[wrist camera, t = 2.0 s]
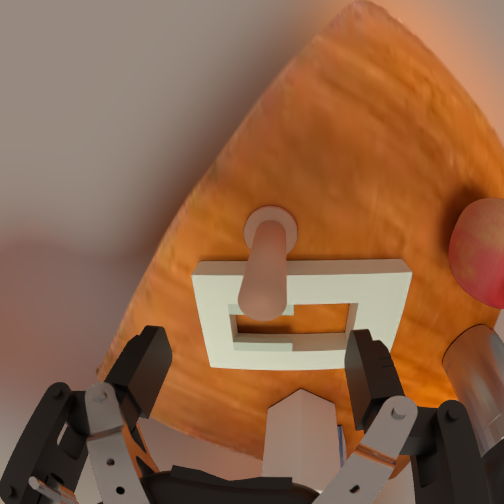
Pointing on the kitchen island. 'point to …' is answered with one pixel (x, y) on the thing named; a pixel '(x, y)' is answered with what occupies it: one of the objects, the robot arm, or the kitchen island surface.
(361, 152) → the kitchen island surface
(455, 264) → the apple
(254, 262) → the headed peg
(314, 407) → the milk carton
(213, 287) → the keyhole board
